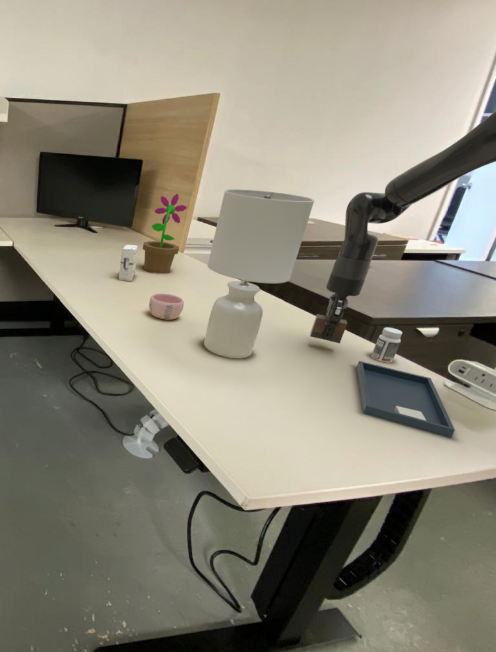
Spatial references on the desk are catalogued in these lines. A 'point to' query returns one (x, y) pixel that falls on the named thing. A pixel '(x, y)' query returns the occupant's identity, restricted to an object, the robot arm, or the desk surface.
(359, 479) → the desk surface
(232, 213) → the lamp
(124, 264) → the ink box
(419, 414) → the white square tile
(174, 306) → the pink bowl
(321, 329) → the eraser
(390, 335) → the pill bottle
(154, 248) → the flowerpot
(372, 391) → the tray
